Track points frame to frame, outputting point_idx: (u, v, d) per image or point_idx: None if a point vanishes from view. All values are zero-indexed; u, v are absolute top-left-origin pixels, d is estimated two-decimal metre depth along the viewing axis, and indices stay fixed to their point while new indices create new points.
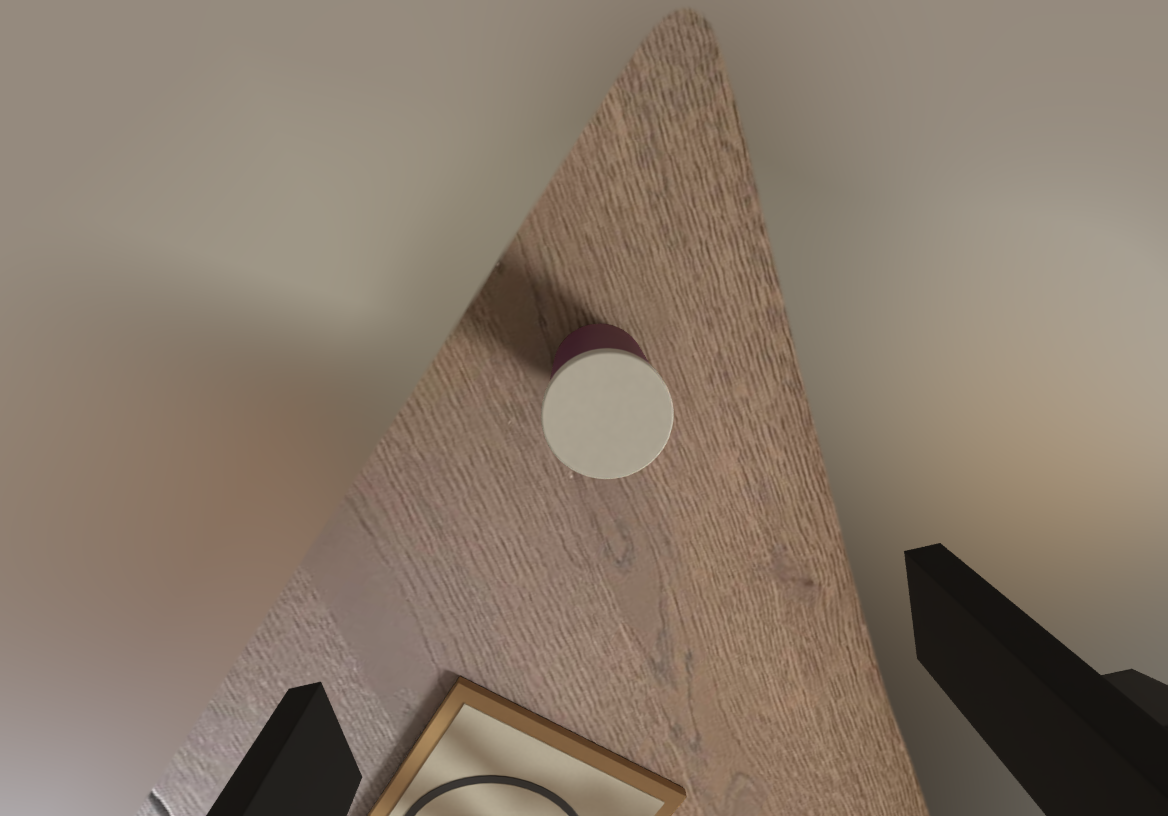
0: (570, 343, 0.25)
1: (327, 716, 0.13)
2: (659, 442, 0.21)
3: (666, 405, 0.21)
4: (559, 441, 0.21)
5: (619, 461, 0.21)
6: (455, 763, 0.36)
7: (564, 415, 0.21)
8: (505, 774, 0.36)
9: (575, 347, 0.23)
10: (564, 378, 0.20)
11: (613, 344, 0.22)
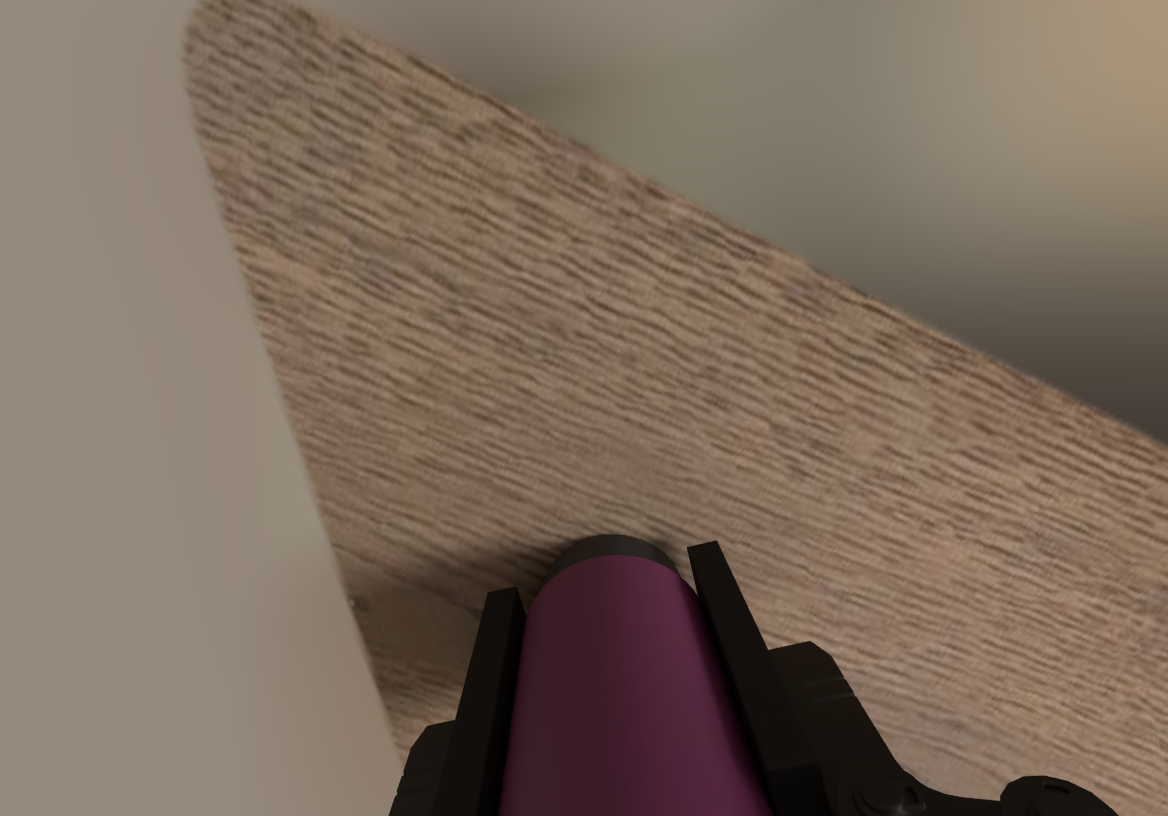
0: (509, 731, 0.11)
1: (522, 615, 0.15)
2: None
3: None
4: None
5: None
6: None
7: None
8: None
9: (498, 815, 0.09)
10: None
11: (545, 810, 0.08)
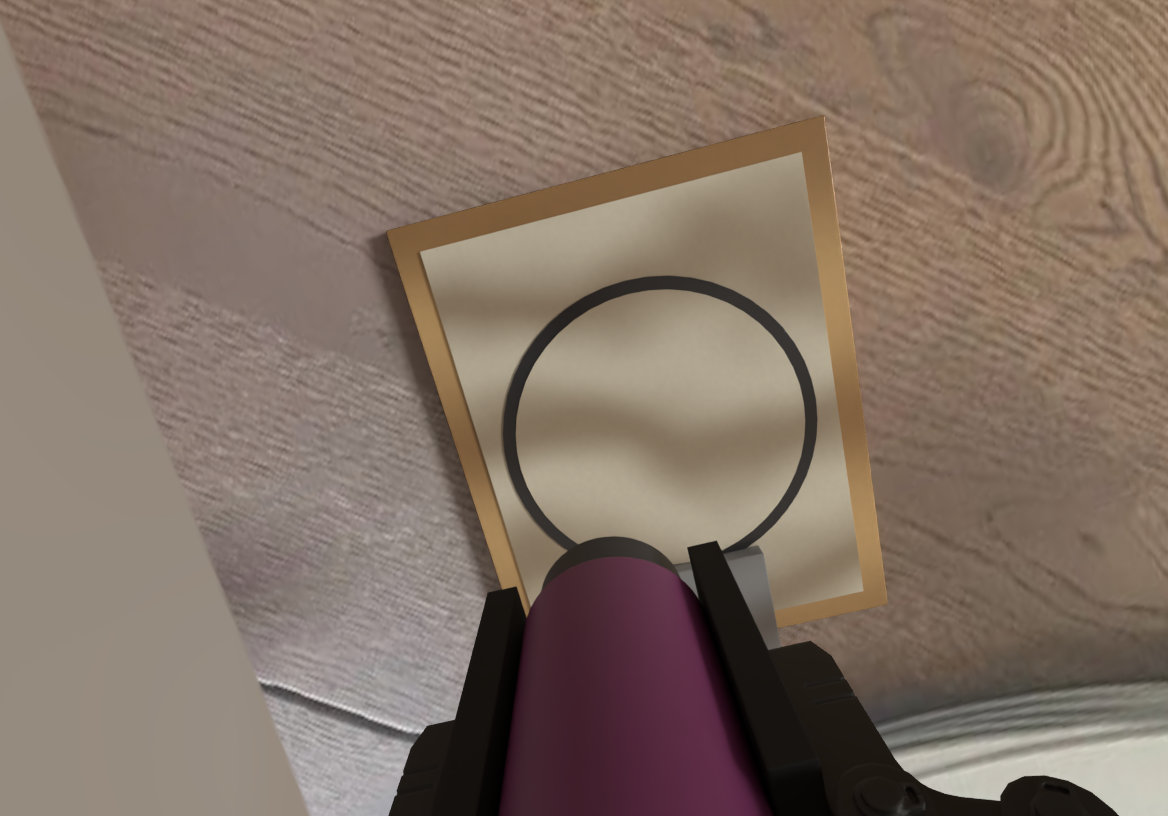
0: (509, 733, 0.11)
1: (522, 615, 0.15)
2: None
3: None
4: None
5: None
6: (492, 347, 0.23)
7: None
8: (562, 306, 0.22)
9: None
10: None
11: (545, 814, 0.08)
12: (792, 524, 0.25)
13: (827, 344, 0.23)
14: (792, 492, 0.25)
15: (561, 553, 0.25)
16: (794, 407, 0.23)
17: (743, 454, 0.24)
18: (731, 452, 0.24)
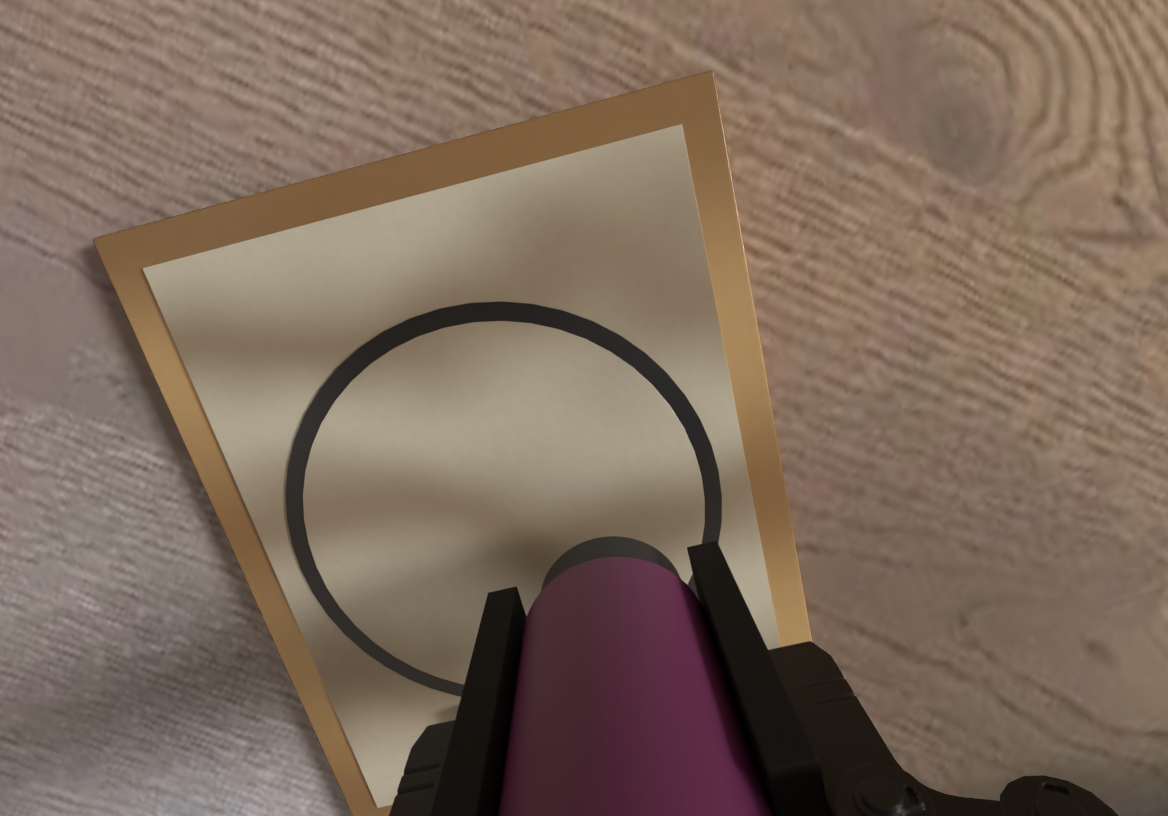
0: (509, 734, 0.11)
1: (523, 615, 0.15)
2: None
3: None
4: None
5: None
6: (261, 401, 0.16)
7: None
8: (354, 344, 0.16)
9: None
10: None
11: None
12: None
13: (732, 396, 0.16)
14: None
15: (383, 673, 0.19)
16: (688, 482, 0.17)
17: None
18: None
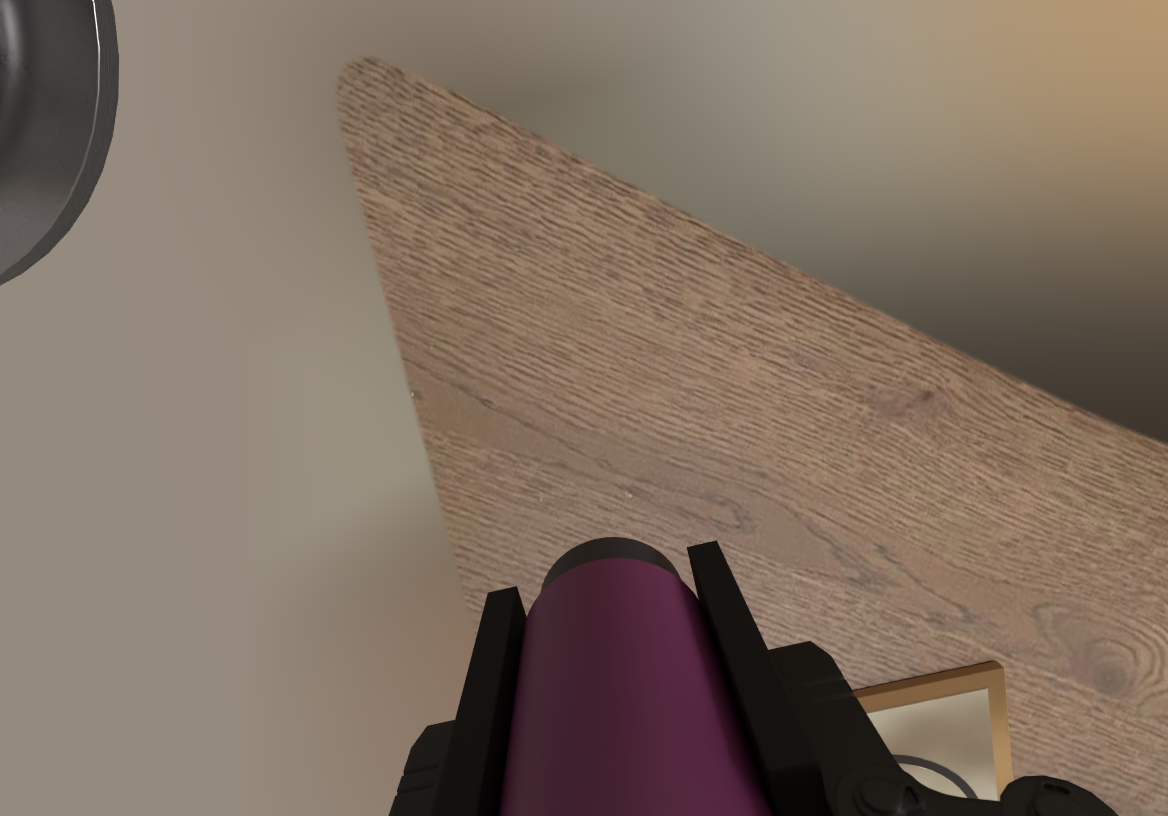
0: (509, 737, 0.11)
1: (522, 615, 0.15)
2: None
3: None
4: None
5: None
6: None
7: None
8: None
9: None
10: None
11: None
12: None
13: (995, 790, 0.34)
14: None
15: None
16: None
17: None
18: None
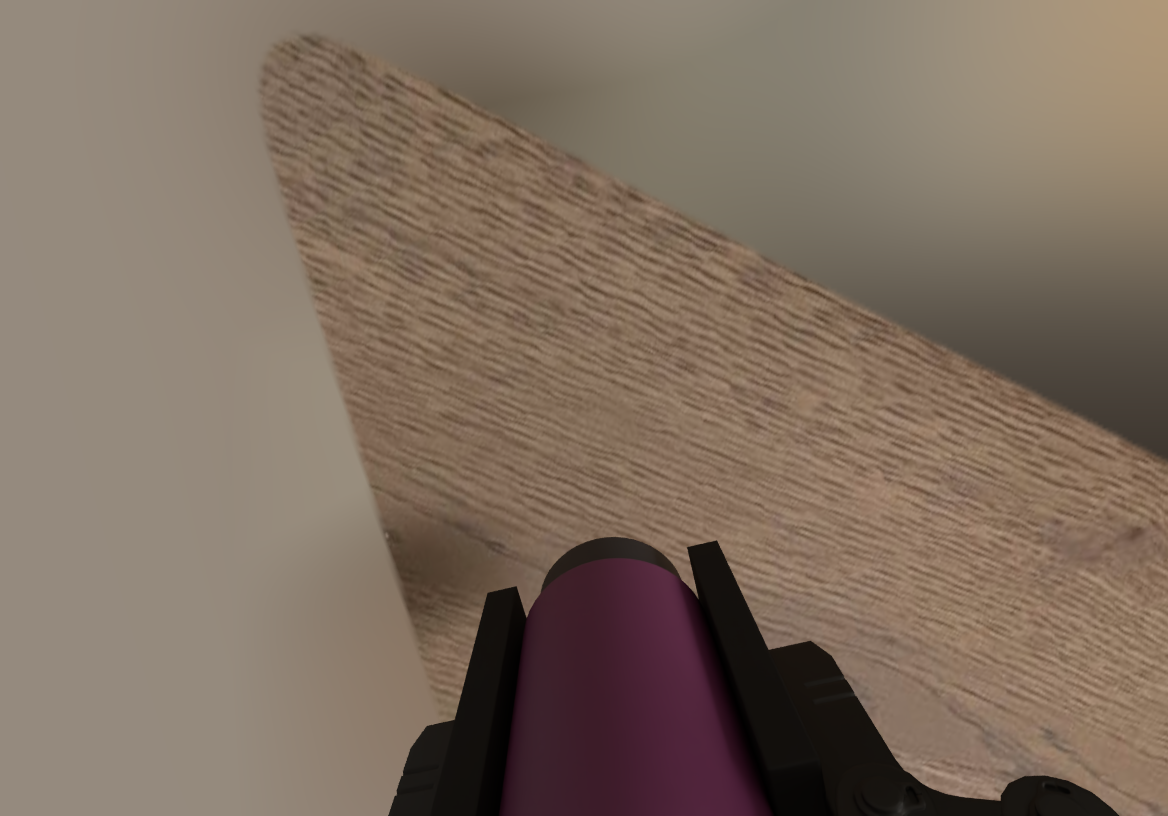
0: (509, 737, 0.11)
1: (522, 615, 0.15)
2: None
3: None
4: None
5: None
6: None
7: None
8: None
9: None
10: None
11: None
12: None
13: None
14: None
15: None
16: None
17: None
18: None
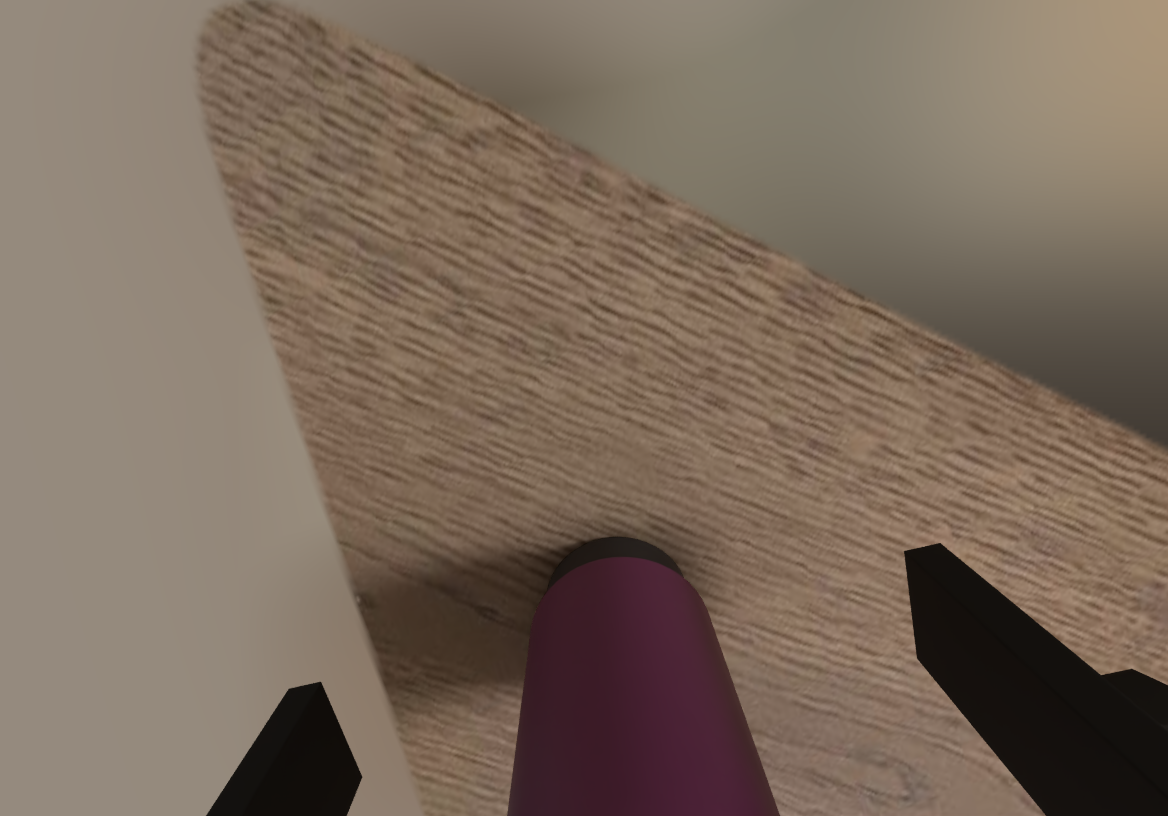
0: (518, 728, 0.11)
1: (326, 716, 0.13)
2: None
3: None
4: None
5: None
6: None
7: None
8: None
9: (509, 808, 0.10)
10: None
11: (556, 802, 0.08)
12: None
13: None
14: None
15: None
16: None
17: None
18: None
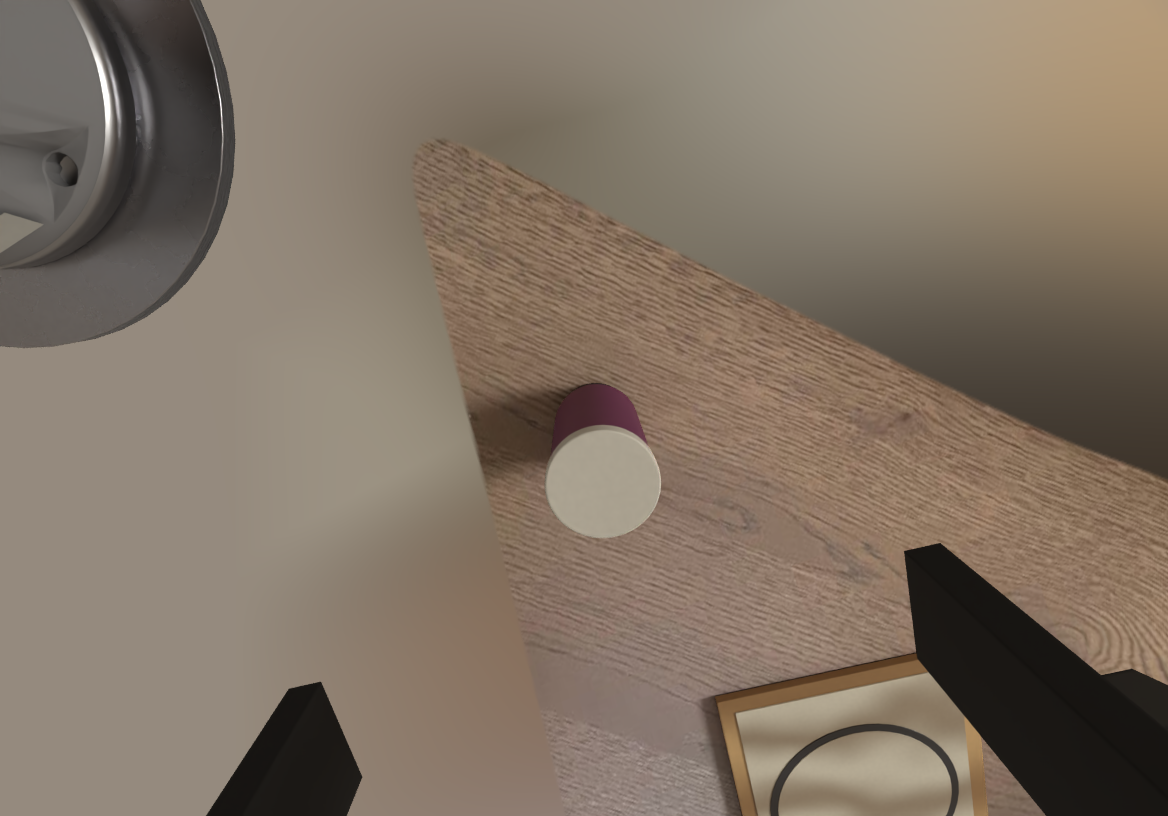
0: None
1: (326, 715, 0.13)
2: (652, 469, 0.23)
3: (632, 443, 0.23)
4: (589, 527, 0.24)
5: (639, 504, 0.24)
6: (770, 758, 0.39)
7: (575, 509, 0.24)
8: (814, 738, 0.38)
9: (552, 446, 0.27)
10: (551, 488, 0.24)
11: (569, 426, 0.25)
12: None
13: (967, 754, 0.39)
14: None
15: None
16: (945, 787, 0.39)
17: (913, 810, 0.40)
18: (906, 810, 0.40)
